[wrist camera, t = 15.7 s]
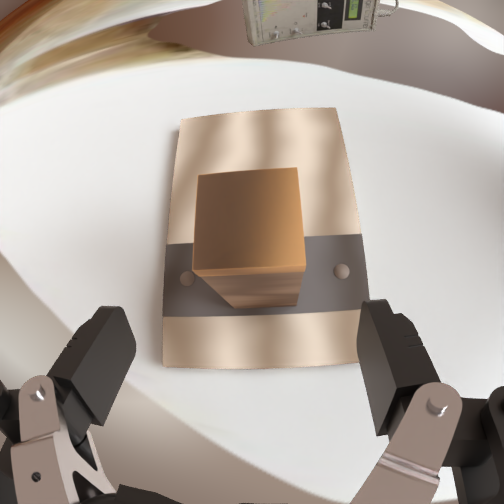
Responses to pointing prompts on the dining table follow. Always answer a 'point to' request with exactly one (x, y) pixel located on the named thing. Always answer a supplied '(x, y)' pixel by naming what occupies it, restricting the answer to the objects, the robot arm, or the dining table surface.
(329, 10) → the geiger counter
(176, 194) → the subfloor panel
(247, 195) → the walnut block
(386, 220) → the dining table surface
